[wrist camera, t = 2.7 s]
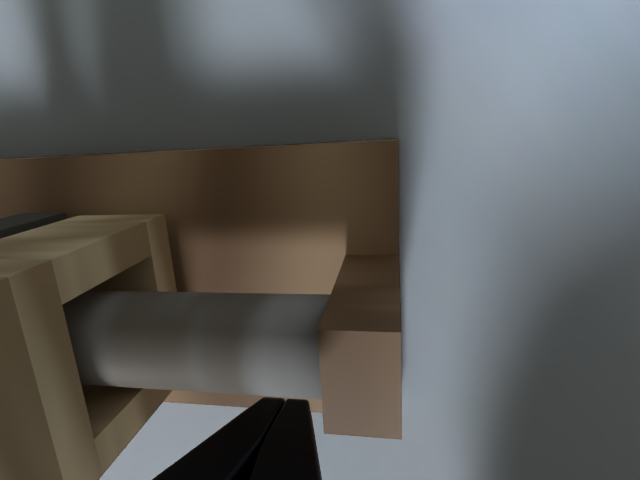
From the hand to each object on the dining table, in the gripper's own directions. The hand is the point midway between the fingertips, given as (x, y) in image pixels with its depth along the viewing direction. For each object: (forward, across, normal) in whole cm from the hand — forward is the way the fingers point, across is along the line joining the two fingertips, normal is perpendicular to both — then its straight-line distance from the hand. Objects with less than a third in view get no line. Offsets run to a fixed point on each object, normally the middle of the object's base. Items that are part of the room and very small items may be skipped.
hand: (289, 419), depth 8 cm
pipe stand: (+7, +10, 0) cm, 12 cm away
